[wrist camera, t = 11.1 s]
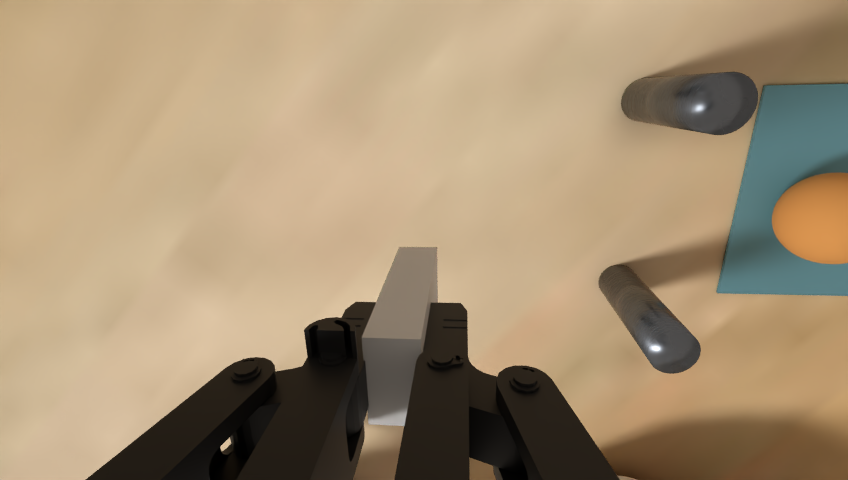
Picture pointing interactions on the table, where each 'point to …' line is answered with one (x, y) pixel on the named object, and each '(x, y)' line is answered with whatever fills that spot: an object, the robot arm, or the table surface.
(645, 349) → the post
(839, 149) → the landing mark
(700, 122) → the post
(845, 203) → the ball
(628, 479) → the sculpture
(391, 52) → the table surface
